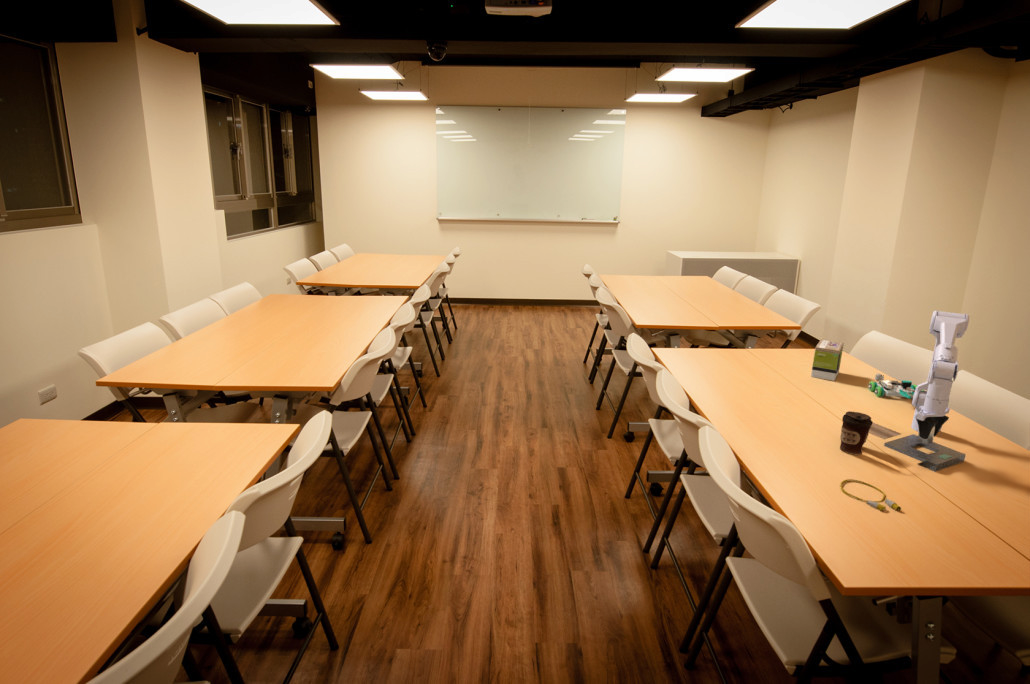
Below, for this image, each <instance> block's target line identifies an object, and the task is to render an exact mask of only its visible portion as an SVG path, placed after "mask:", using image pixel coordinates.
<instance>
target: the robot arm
mask: <svg viewBox="0 0 1030 684" xmlns="http://www.w3.org/2000/svg"><path fill="white" fill-rule="evenodd" d="M969 322H970V315H969V313H958V312H949V311H942V310H941V311H940V310H936V309H935V310H934V311H933V312H932V315H931V319H930V324H929V330H928V331H929V334H931V335H932V336H934V339H935V344H934V349H933V353H932V357H931V360H930V361H931V362H930V367H929V370H928V375H927V380H926V381H924V382H922V383H919V384H916V385H917V387H916V390H915V392H914V396H912V397H913V398H912V401H911V405H912V406H913V408H915V409H914V413H913V417H912V422H911V426H910V428H911V429H912V430H914V431H915V432H918V433H919V437H921V438H924V439H928V437H929V435H930V432H931V430H932V428H933V427H934V425H935V431H934V437H936V436H937V435H938V433H939V432H942V428H943V426H944V424H945V423H947V421H948V420H949V418H950V417H949V416H948V414H949V413H950V410H951V407H949V402H950V395H951V391H952V387H953V383H954V382H955V381H956V379H957V377H958V373H959V361H958V352H959V350H958V347H957V346H956V345H955V342H956V339H959V338H962V337H963V336H964V334H965V333H966V332H967V329H968V326H969ZM921 390H924V391H921ZM946 414H947V415H946ZM934 437H933V438H934Z"/></svg>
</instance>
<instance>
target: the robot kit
mask: <svg viewBox="0 0 1030 684" xmlns="http://www.w3.org/2000/svg"><path fill="white" fill-rule="evenodd" d="M884 377H885V376H884V374H882V373H876V374H875V377H874V380H875V381H870V382H869V383H868V390H869V391H870V392H874V395H875V397H878V398H879V397H881V398H882V397H884V395H885V396H886V397H898V398H899V397H901V398H906V399H913V396H914V392H915V390H916V387H917V385H918V384H912V383H913V382H912V381H911V380H906V379H905V380H903V379H902V380H901V382H899V381H898V380H890V379H889V380H888V379H887V380H884V379H885V378H884ZM921 391H925V390H921Z"/></svg>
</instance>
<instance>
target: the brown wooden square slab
mask: <svg viewBox="0 0 1030 684" xmlns="http://www.w3.org/2000/svg"><path fill="white" fill-rule="evenodd" d="M869 434H870V435H872V436H876V437H878V438H880V439H883V440H887V439H889V438H893V437H896V436H900V435H902V433H901V432H898V431H895V430H893V429H890V428H888V427H886V426H883V425H880V424H878V423H875V422H873V423H872V425H871V428H870V429H869Z"/></svg>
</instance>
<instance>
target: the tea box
mask: <svg viewBox="0 0 1030 684" xmlns="http://www.w3.org/2000/svg"><path fill="white" fill-rule="evenodd" d="M843 349H844V342H840V341H839V342H837V341H832V340H824V339H820V340H819V341H818V343H817V344H816V346H815V348H814V355H813V361H812V368H811V374H810V377H811V378H816V379H820V380H826V381H832V382H835V381H836V379H837V376H838V375H839V373H840V368H841V362H842V355H843Z"/></svg>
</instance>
